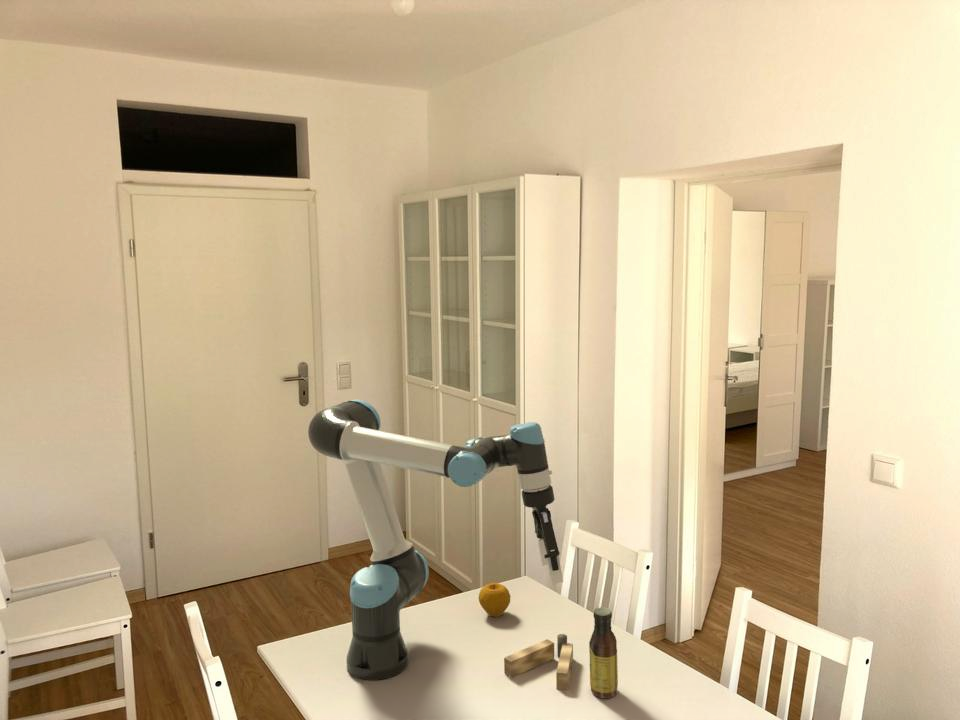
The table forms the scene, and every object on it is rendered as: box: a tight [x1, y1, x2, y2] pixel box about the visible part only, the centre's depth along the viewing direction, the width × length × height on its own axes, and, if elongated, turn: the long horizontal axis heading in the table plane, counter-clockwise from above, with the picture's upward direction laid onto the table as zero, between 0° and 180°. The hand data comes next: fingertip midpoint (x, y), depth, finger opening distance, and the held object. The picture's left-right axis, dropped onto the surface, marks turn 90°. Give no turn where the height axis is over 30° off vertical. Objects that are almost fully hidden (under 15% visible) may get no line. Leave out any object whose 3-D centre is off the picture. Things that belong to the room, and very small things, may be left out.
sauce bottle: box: [588, 606, 619, 699], centre depth 176 cm, size 6×6×20 cm
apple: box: [477, 582, 511, 618], centre depth 217 cm, size 9×9×9 cm
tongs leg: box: [503, 639, 555, 679], centre depth 189 cm, size 14×2×4 cm, turn 128°
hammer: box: [555, 633, 574, 691], centre depth 187 cm, size 16×4×5 cm, turn 168°
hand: (552, 573), depth 187 cm, fingers open, 13 cm apart
